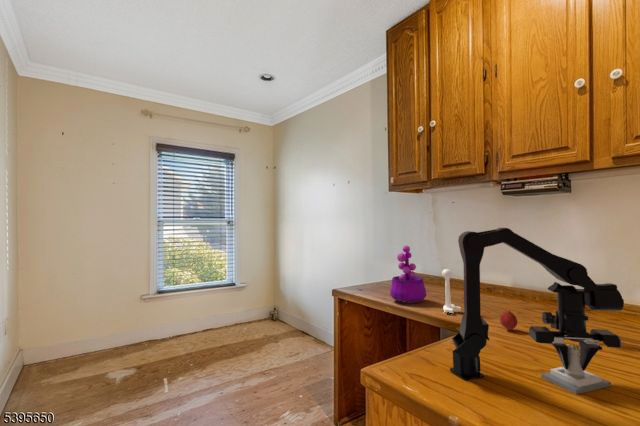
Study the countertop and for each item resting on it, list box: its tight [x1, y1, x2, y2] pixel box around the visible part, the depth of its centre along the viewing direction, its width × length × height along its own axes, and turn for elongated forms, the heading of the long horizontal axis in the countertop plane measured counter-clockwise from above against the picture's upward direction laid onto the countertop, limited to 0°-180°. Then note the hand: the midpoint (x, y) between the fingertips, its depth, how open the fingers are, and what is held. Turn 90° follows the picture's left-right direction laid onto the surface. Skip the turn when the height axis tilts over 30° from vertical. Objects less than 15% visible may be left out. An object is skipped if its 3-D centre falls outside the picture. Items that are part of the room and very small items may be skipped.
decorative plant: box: [389, 244, 427, 303], centre depth 175 cm, size 19×18×30 cm
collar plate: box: [541, 366, 612, 395], centre depth 85 cm, size 12×9×2 cm
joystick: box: [441, 268, 462, 314], centre depth 153 cm, size 11×8×20 cm
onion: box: [499, 309, 518, 331], centre depth 126 cm, size 6×6×8 cm
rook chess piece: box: [564, 344, 586, 380], centre depth 85 cm, size 4×4×8 cm
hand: (574, 369), depth 85 cm, fingers closed on rook chess piece, 3 cm apart
